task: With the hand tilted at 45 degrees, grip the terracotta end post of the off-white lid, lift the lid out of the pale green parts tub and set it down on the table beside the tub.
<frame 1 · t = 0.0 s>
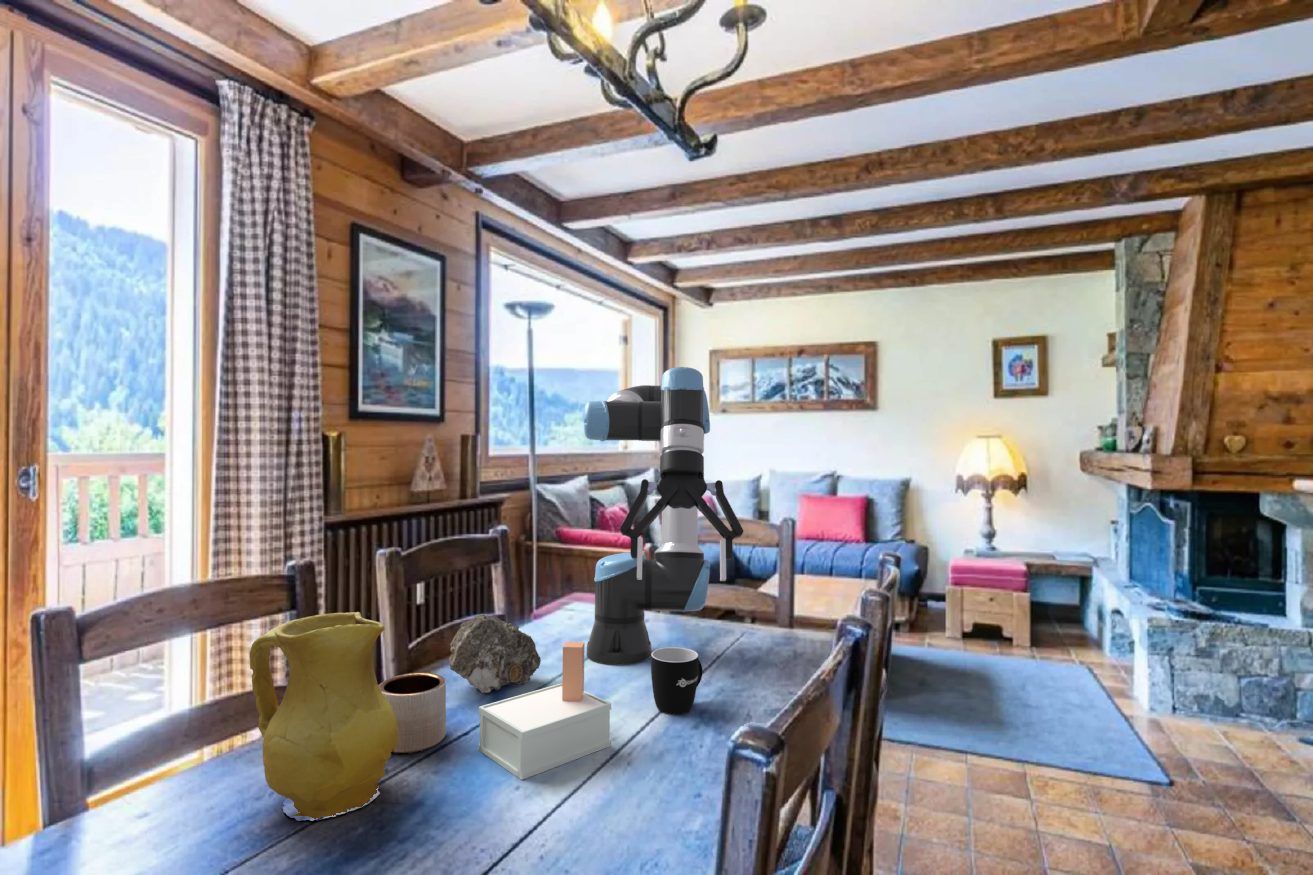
hand: (681, 579, 112), 28 cm above the table, tool tilted 20°, fingers open, 13 cm apart
pitcher: (328, 796, 97), on the table
tub: (545, 747, 113), on the table
mug: (679, 707, 131), on the table
planter: (411, 742, 115), on the table
rock: (494, 683, 142), on the table
lid: (545, 711, 113), point 6 cm above the table, touching tub
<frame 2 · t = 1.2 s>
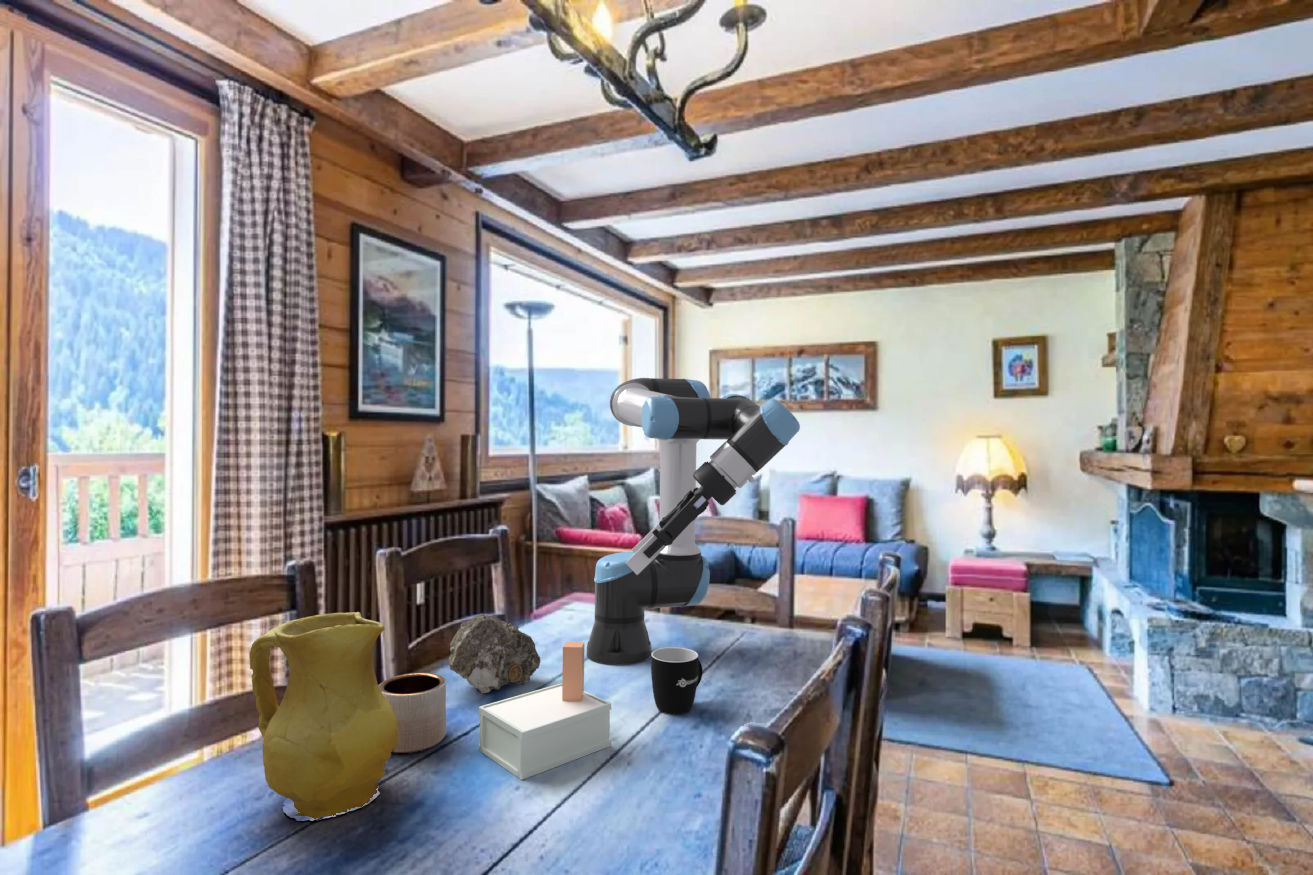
hand: (634, 561, 118), 30 cm above the table, tool tilted 45°, fingers open, 13 cm apart
nothing on the table moved.
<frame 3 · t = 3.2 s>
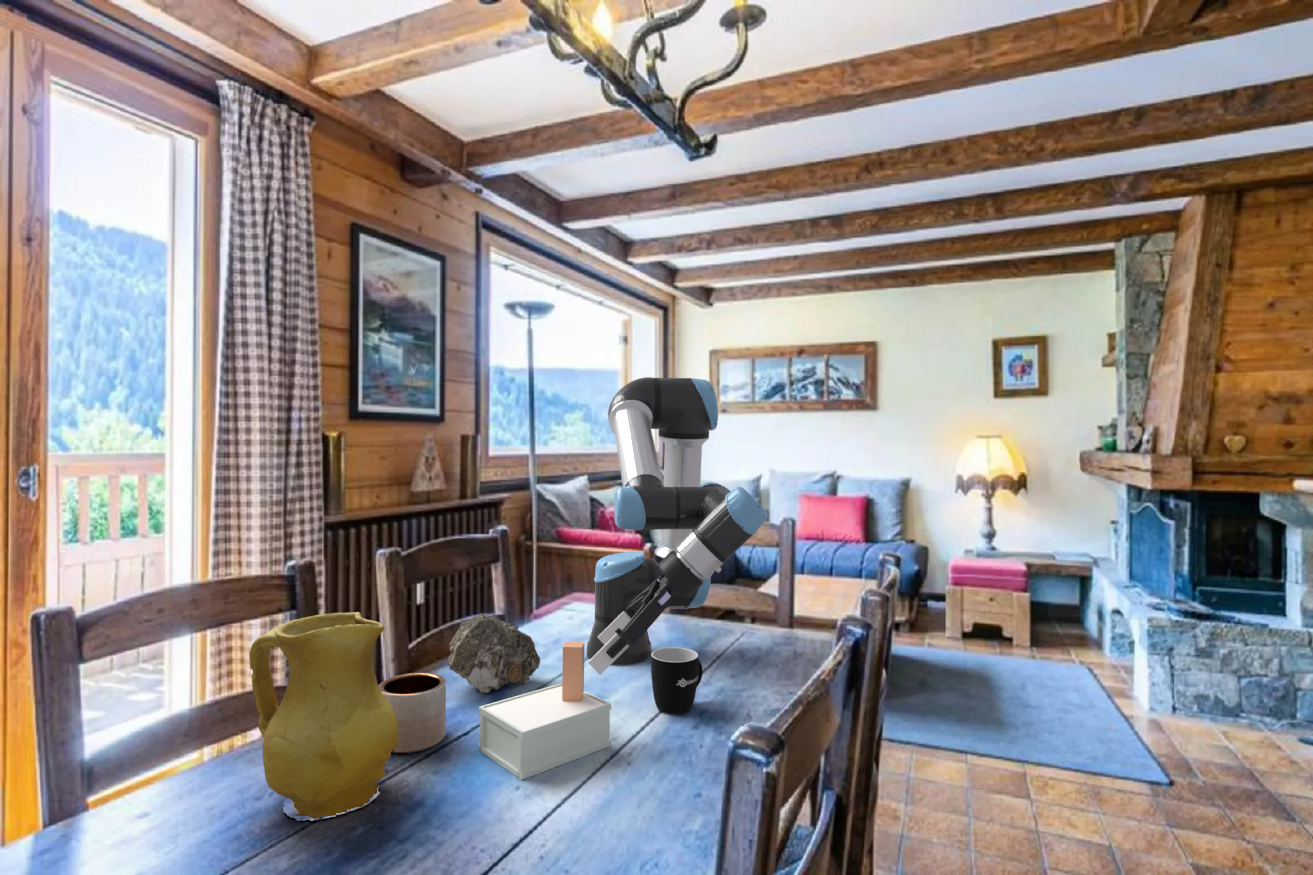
hand: (598, 654, 115), 15 cm above the table, tool tilted 45°, fingers open, 13 cm apart
nothing on the table moved.
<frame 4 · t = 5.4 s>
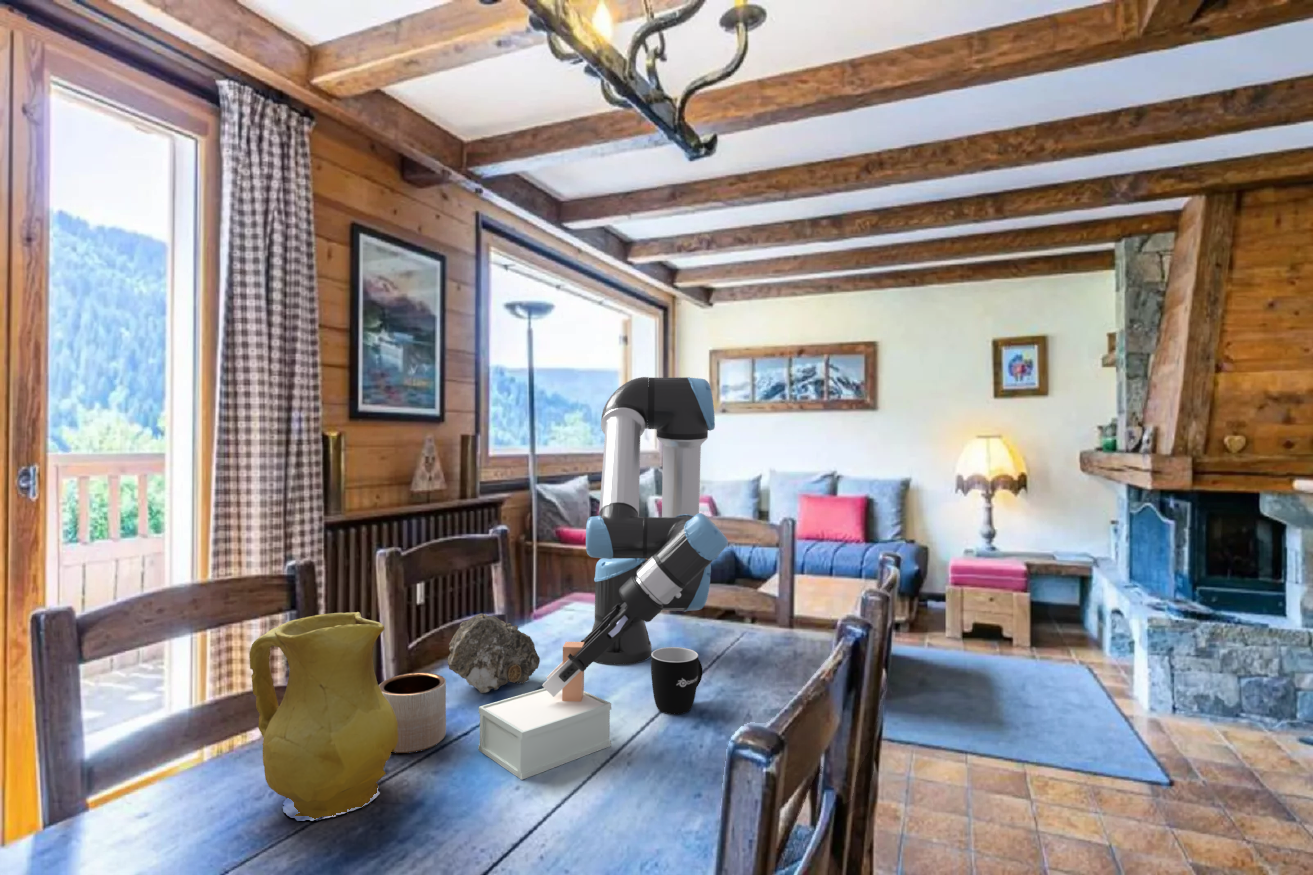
hand: (550, 686, 117), 9 cm above the table, tool tilted 45°, fingers closed on lid, 3 cm apart
lid: (545, 711, 113), point 6 cm above the table, touching gripper, tub
everything else where it was.
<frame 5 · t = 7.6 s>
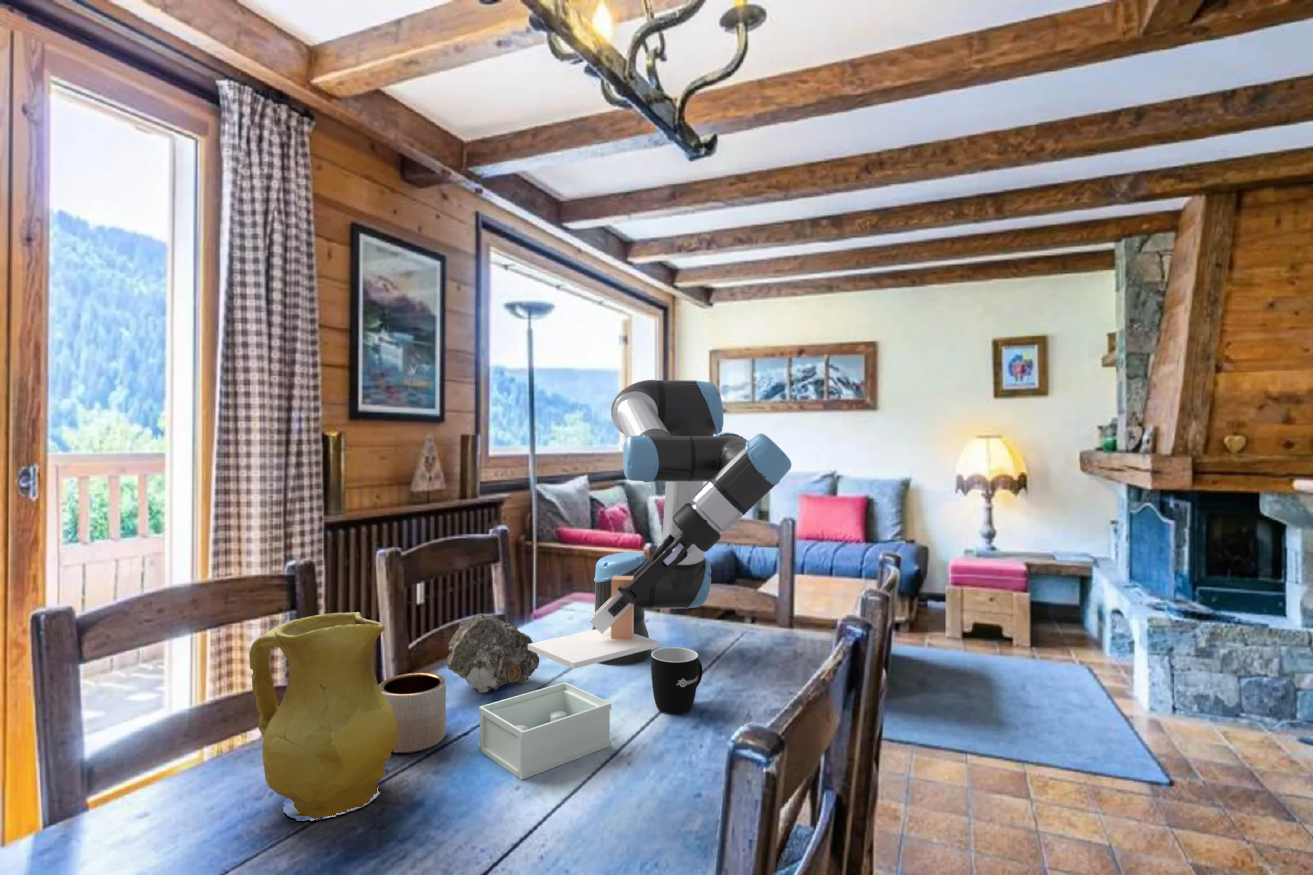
hand: (597, 623, 107), 22 cm above the table, tool tilted 45°, fingers closed on lid, 3 cm apart
lid: (593, 648, 103), point 19 cm above the table, touching gripper
everything else where it was.
when the fingers open (4 cm above the table, at t = 10.0 s): lid drops 2 cm, on the table.
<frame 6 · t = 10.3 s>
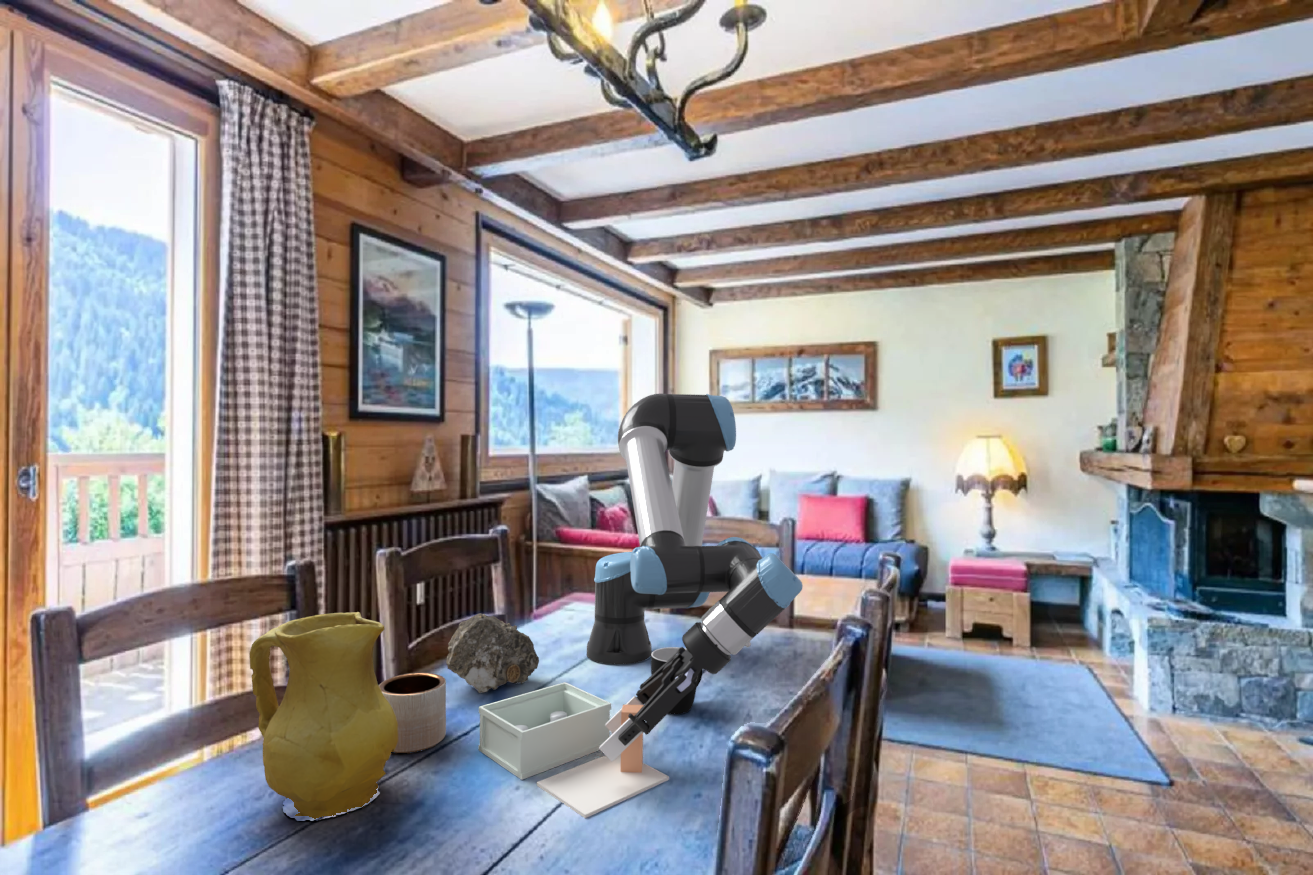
hand: (608, 741, 106), 4 cm above the table, tool tilted 45°, fingers open, 7 cm apart
lid: (603, 784, 102), on the table
everything else where it was.
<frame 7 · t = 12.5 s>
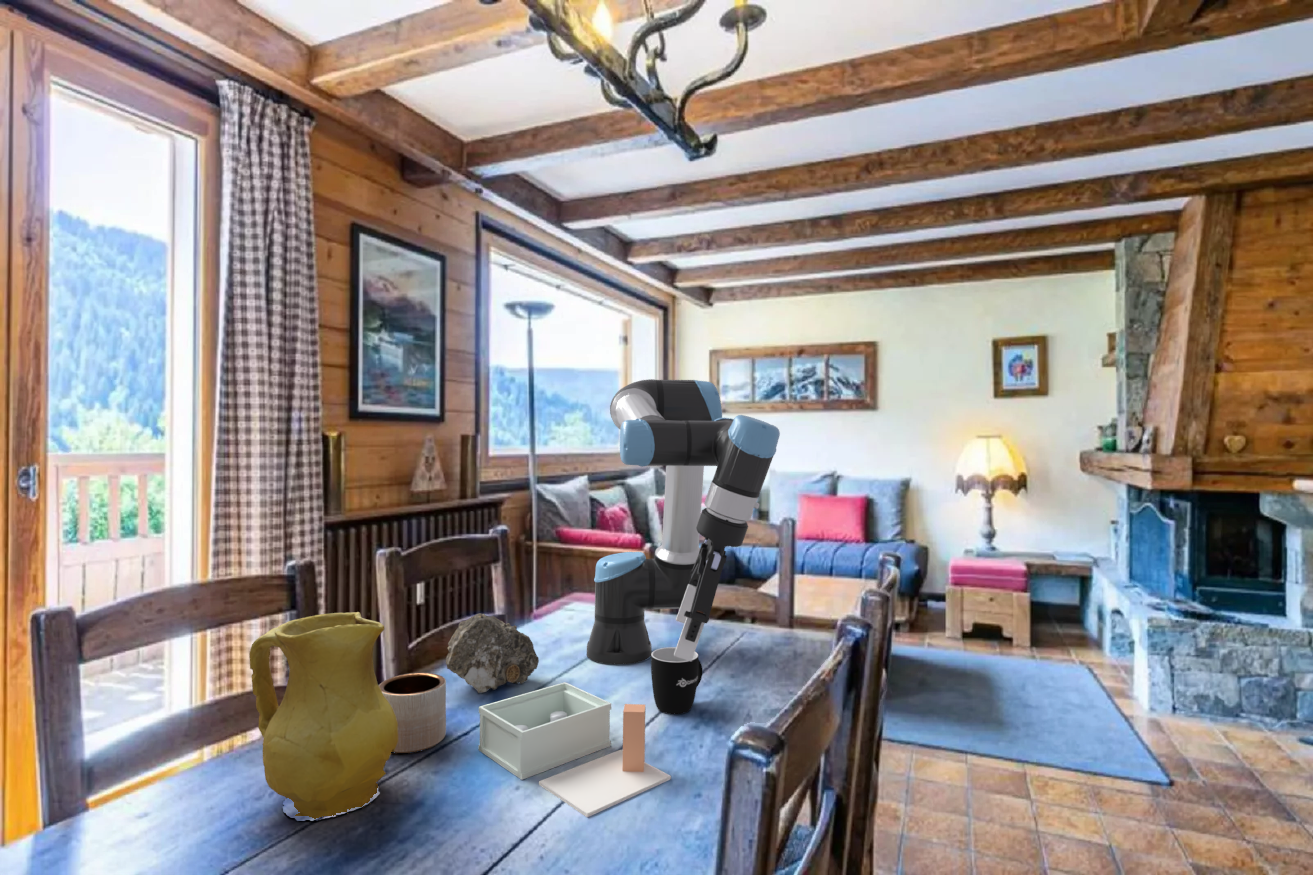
hand: (683, 639, 110), 19 cm above the table, tool tilted 20°, fingers open, 13 cm apart
nothing on the table moved.
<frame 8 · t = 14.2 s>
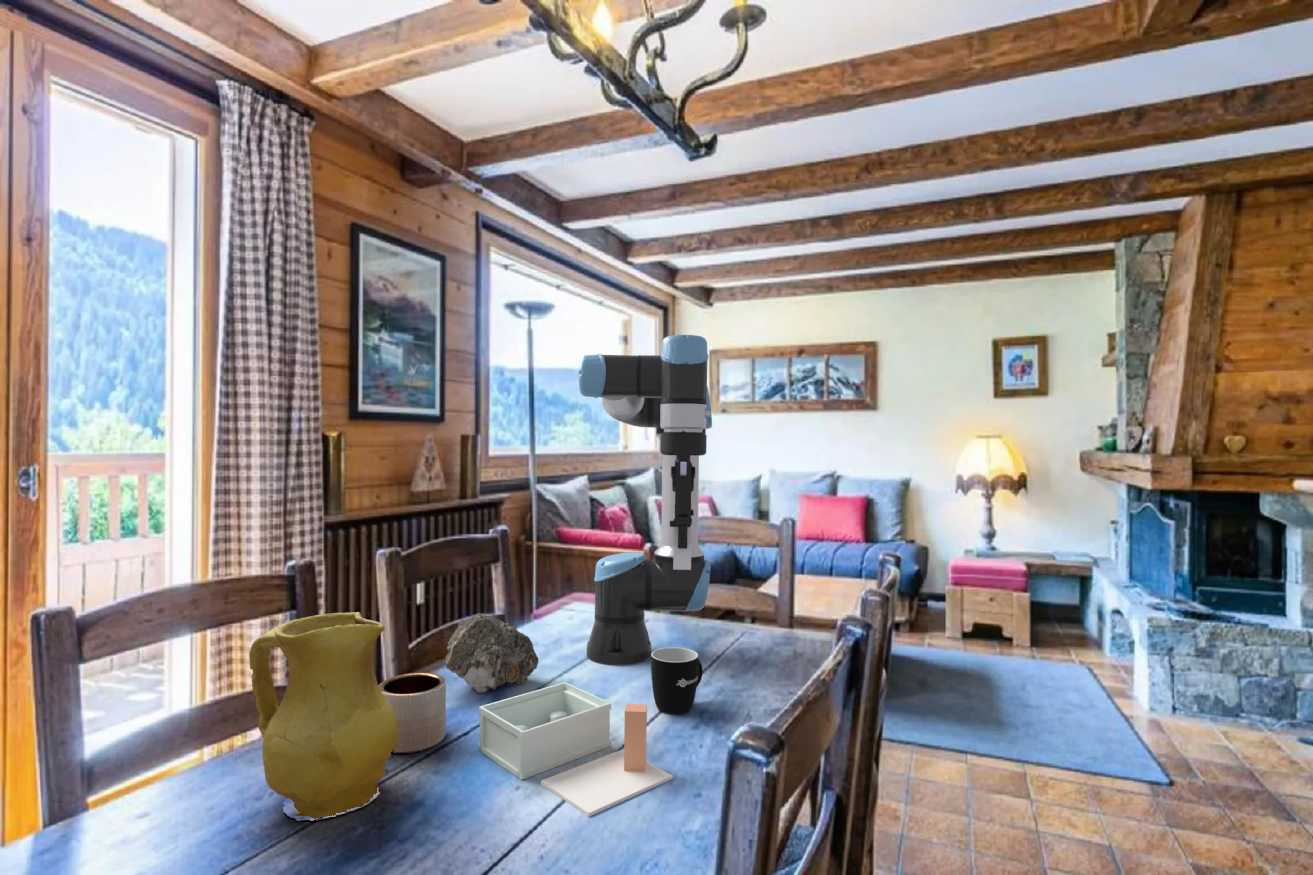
hand: (681, 561, 113), 31 cm above the table, tool pointing down, fingers open, 13 cm apart
nothing on the table moved.
at the end: lid inside the target area (0.7 cm from its centre), on the table; lid tilted 0°; lid touching table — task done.
